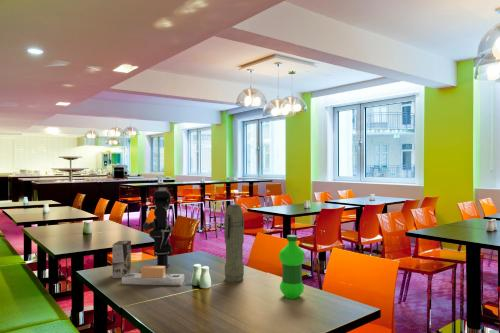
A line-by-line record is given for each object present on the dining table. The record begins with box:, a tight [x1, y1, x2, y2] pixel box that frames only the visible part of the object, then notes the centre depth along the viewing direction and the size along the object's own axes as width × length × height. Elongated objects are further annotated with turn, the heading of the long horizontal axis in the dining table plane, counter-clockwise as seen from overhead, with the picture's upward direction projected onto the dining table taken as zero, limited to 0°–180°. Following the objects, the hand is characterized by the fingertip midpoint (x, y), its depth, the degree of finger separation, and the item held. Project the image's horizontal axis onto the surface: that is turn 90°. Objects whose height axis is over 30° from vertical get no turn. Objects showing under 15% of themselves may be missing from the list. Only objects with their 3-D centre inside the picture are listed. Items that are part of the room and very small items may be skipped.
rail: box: [121, 272, 185, 286], centre depth 182 cm, size 7×27×3 cm, turn 86°
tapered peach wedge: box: [140, 265, 167, 277], centre depth 182 cm, size 10×4×6 cm, turn 86°
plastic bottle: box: [278, 234, 306, 300], centre depth 163 cm, size 10×10×25 cm
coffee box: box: [111, 240, 132, 279], centre depth 192 cm, size 9×6×16 cm
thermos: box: [223, 204, 245, 284], centre depth 185 cm, size 9×12×35 cm
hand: (161, 247), depth 194 cm, fingers open, 9 cm apart
